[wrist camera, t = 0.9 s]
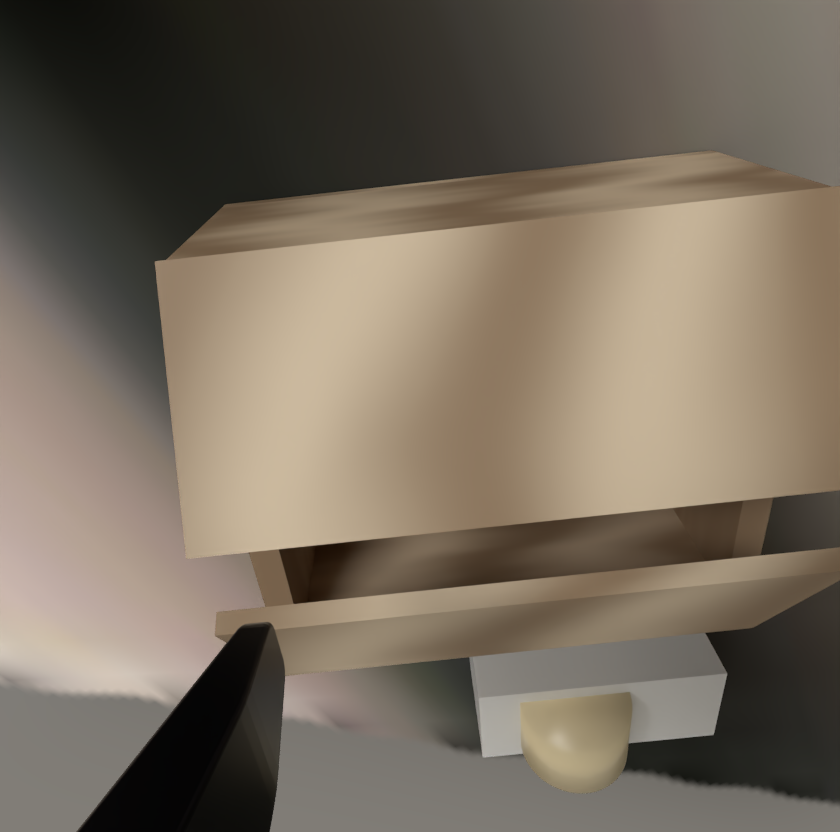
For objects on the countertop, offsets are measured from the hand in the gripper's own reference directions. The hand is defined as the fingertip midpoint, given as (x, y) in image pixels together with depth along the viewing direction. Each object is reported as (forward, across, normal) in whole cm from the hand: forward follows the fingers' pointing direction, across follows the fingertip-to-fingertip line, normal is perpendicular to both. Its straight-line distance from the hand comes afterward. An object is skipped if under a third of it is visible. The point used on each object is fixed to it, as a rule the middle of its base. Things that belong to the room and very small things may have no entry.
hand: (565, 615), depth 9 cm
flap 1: (+5, 0, -1) cm, 6 cm away
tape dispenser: (+13, -4, +15) cm, 20 cm away
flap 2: (+5, 0, +6) cm, 8 cm away
